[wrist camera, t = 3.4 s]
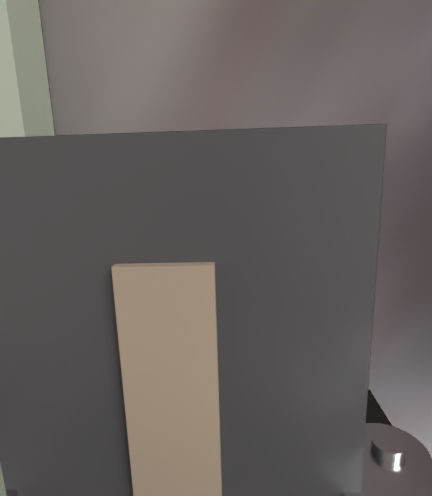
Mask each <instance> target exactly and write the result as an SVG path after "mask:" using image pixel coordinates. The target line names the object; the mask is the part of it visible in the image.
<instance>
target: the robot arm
mask: <svg viewBox="0 0 432 496" xmlns="http://www.w3.org/2000/svg"><path fill="white" fill-rule="evenodd" d="M0 496H18V494H17V490H5V485H4V479H3V474H2V469H1V464H0ZM344 496H432V458H431V456H430V454H429V452H428V450H427V449H426V448H425V446H424V445H423V444H422V443H421V442H420V441H419V440H417V439H416V438H415V437H413V436H412V435H410V434H409V433H407V432H405V431H403V430H401V429H399V428H396V427H394V426H392V425H391V423H390V422H389V420H388V418H387V417H386V415H385V414H384V412H383V410H382V409H381V407H380V406H379V404H378V402H377V401H376V399H375V398H374V396H373V395H372V393H371V391H370V390H368V397H367V411H366V425H365V439H364V453H363V468H362V482H361V493H344Z"/></svg>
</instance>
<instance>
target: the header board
mask: <svg viewBox="0 0 432 496" xmlns="http://www.w3.org/2000/svg"><path fill="white" fill-rule="evenodd" d="M28 136H55V133H54V124H53V116H52V108H51V100H50V92H49V84H48V76H47V68H46V60H45V52H44V44H43V36H42V28H41V20H40V11H39V3H38V0H0V137H28Z"/></svg>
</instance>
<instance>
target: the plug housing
mask: <svg viewBox="0 0 432 496" xmlns="http://www.w3.org/2000/svg"><path fill="white" fill-rule="evenodd" d="M386 128H387V124H367V125H339V126H311V127H282V128H254V129H226V130H198V131H170V132H141V133H113V134H85V135H57V136H28V137H0V464H1V469H2V474H3V479H4V485H5V490H17V494H18V496H344V493H361V482H362V468H363V453H364V439H365V425H366V411H367V397H368V383H369V369H370V354H371V340H372V326H373V312H374V298H375V284H376V270H377V255H378V241H379V227H380V213H381V199H382V185H383V170H384V156H385V142H386Z"/></svg>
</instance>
